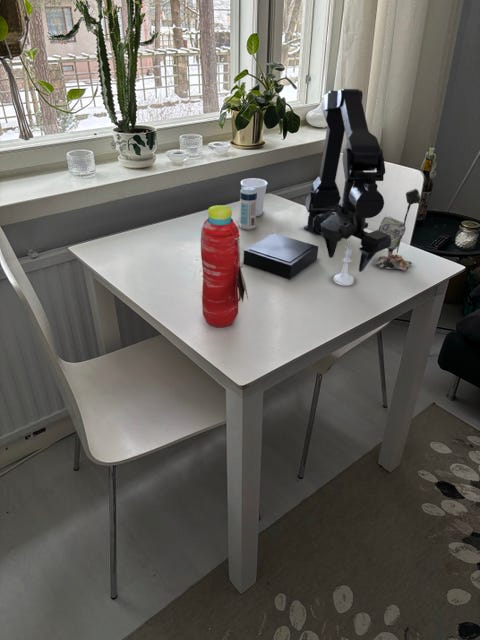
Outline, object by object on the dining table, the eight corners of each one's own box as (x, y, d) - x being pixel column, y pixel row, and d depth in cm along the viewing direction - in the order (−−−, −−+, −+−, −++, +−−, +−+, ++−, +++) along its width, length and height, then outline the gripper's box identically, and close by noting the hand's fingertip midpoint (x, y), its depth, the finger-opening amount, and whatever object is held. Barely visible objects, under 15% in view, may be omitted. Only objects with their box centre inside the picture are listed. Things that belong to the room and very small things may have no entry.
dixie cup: (234, 213, 156) (235, 182, 151) (251, 206, 161) (252, 176, 156) (255, 220, 152) (256, 188, 146) (271, 212, 157) (273, 182, 152)
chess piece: (341, 287, 117) (347, 249, 111) (329, 278, 121) (334, 241, 115) (357, 283, 119) (364, 245, 113) (345, 274, 122) (351, 237, 117)
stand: (272, 246, 136) (273, 232, 133) (317, 260, 129) (318, 245, 127) (243, 264, 126) (243, 249, 124) (289, 280, 119) (291, 264, 117)
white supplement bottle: (256, 224, 148) (257, 185, 142) (254, 230, 144) (256, 191, 138) (240, 223, 149) (241, 185, 142) (238, 230, 145) (239, 190, 138)
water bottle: (259, 325, 102) (265, 211, 89) (235, 342, 97) (237, 223, 84) (216, 305, 109) (215, 196, 95) (191, 320, 103) (187, 207, 90)
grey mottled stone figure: (376, 252, 133) (390, 180, 122) (415, 265, 127) (434, 190, 116) (362, 262, 128) (375, 187, 117) (402, 276, 122) (420, 198, 111)
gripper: (299, 196, 110) (294, 259, 118) (365, 222, 98) (354, 289, 107) (333, 187, 116) (325, 247, 124) (399, 210, 104) (385, 275, 113)
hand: (345, 264), depth 117 cm, fingers open, 9 cm apart
